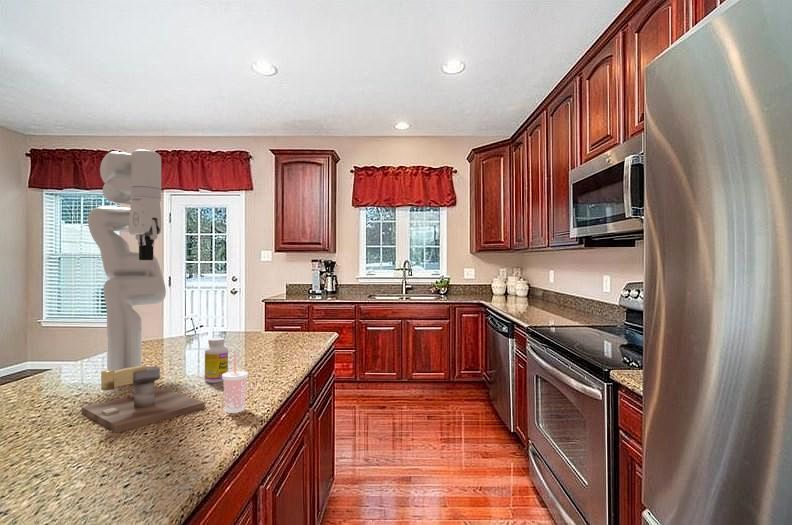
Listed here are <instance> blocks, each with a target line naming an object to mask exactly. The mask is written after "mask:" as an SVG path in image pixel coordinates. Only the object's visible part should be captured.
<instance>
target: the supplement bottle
mask: <svg viewBox="0 0 792 525" xmlns="http://www.w3.org/2000/svg"><path fill="white" fill-rule="evenodd" d="M225 342H226V339H225V338H224V337H212V338H209V339H208V341H207V343H208V346H207V347H206V348H205V350H204V381H205V383H210V384H217V383H223V379H222V374H223V373H226V372H229V361H228V360H229V359H228V358H229V349H228V347H227V346H226V345H225Z"/></svg>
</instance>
